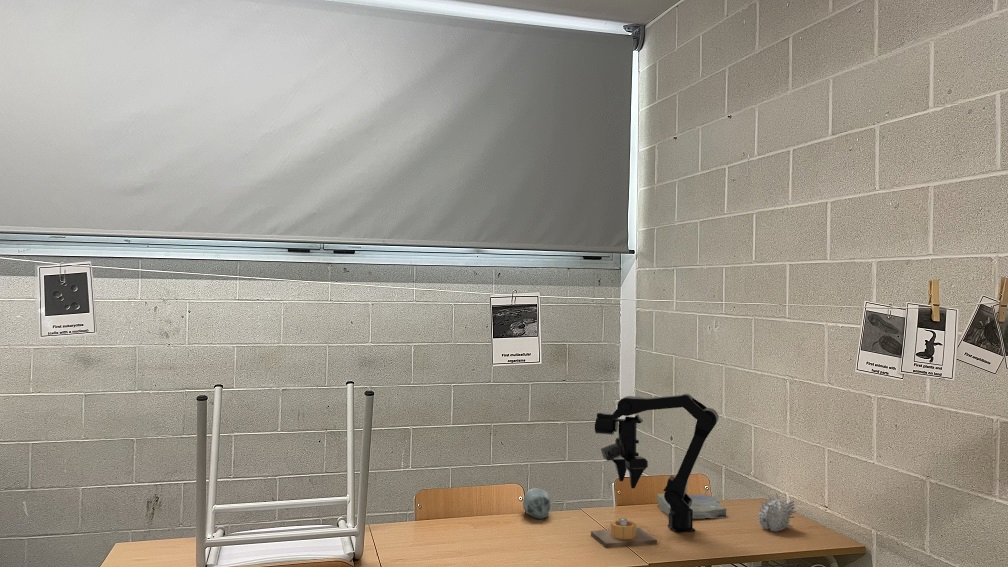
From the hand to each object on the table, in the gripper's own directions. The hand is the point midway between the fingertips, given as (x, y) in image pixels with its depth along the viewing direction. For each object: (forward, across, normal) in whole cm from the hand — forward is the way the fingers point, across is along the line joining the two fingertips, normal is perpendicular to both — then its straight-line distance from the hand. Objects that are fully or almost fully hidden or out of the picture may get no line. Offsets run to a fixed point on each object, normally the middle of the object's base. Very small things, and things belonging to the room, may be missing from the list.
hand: (627, 484), depth 239 cm
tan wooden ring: (+11, +16, -8) cm, 21 cm away
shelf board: (+12, +16, -8) cm, 22 cm away
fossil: (+13, -8, +28) cm, 31 cm away
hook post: (+11, +16, -8) cm, 21 cm away
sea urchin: (+12, +16, +44) cm, 48 cm away
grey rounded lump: (+12, -14, -26) cm, 32 cm away
